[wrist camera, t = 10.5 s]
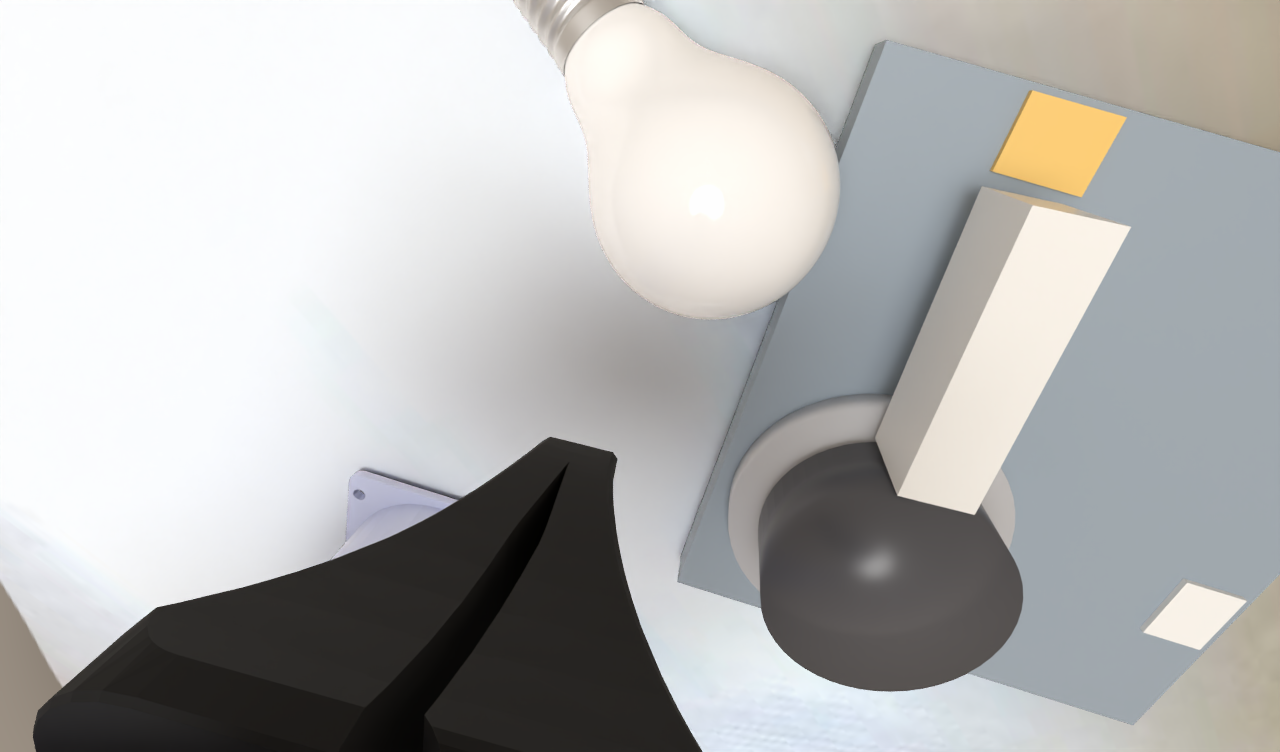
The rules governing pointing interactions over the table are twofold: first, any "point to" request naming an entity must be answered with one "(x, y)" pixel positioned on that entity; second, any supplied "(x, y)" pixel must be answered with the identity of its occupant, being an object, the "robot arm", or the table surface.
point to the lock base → (1079, 385)
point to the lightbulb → (691, 159)
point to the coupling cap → (933, 466)
